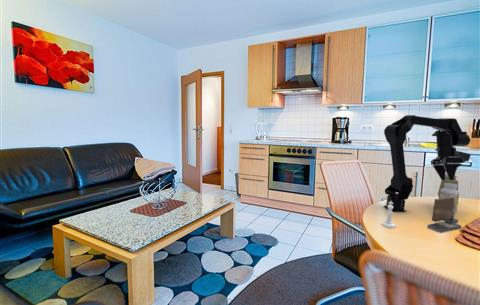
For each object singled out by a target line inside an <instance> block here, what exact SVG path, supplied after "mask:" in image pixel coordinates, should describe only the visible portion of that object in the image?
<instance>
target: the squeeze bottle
mask: <svg viewBox="0 0 480 305" xmlns="http://www.w3.org/2000/svg"><path fill="white" fill-rule="evenodd" d="M440 180H441V179H440ZM444 183H453V184H457V185H458V186H457V188H456V190H458V191H459V181H458V180H457V175H456V174H455V176H454V180H450V179H449V177H448V175H447V173H445V180H441V181H440V185H439V188H438V192H437V196H438V199H440V192H441V189H442V188H444V187H445V186H444Z"/></svg>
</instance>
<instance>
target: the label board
mask: <svg viewBox="0 0 480 305" xmlns="http://www.w3.org/2000/svg"><path fill="white" fill-rule="evenodd" d="M458 223H459V219H457V218H454V219H448V220H442V221H438V222H434V223H429V224H427V229H429V230H432V231H435V232H438V233H440V234H441V233H445V232H449V231H451V232H452V231H455V230H459V229H461V228H462V225H461V224H458Z"/></svg>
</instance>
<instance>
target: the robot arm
mask: <svg viewBox="0 0 480 305" xmlns="http://www.w3.org/2000/svg"><path fill="white" fill-rule="evenodd" d="M415 125H416V126H421V127H429V128H432V129H435V132H434V133H432V134H431V136H432V137H435V139H436V148H435V152H436V153H437V157H435V158H433V159H431V160H430V165H431V166H432V167H433V169H434V170H435V172H436V174H437V175H438V177H439V178H440V180H445V174H447V175H448V177H449V179H450V180H454V176H455V175H456V174H457V173H456V172H457V170H458V168H459V167H461V166H462V165H463V164H464V163H466V162H469V161H470V158H471V156H472V154H471V153H468V152H467V153H466V152H463V151H460V150H459V151H458V150H457V148H456V147H467V146H469V145H470V143H471V137H470V136H469V135H468V132H467V131H462V128H461V126H460V124H459V122H458V120H457V118H452V117H451V118H450V117H449V118H448V117H444V118H443V117H442V118H441V117H440V118H434V117H426V116H418V115H415V114H413V115H412V114H410V115H409V114H407V115H404V116H403V117H401V118H400V119H399V120H396V121H394V122H393V123H391V124H388V125H387V126H386V127H384V130H383V134H384V136H385V140H386V141H387V143H388V145H389V147H390V156H391V166H392V173H393V175H392V177H391V179H390V184H389V185H388V186H387V187H386V188H385V189H384V193H385V195H387V197H386V205H383V207H384V208H385V209H387V210H388V205H390V204H388V203H390V201H392V203H393V204H392V206H393V209H392V212H393V213H394V212H399V213H400V212H401V213H402V212H404V213H405V212H407V211H406V210H405V207H406V206H405V205H406V200H408V199H409V197H410V195H411V193H412V192H413V188H414V187H415V186H414V185H413V181H414V180H413V178H411V177H409V176H408V175H407V171H406V170H407V168H406V160H405V151H404V143H405V141H406V139H407V134H408V133H409V132H410V131H411V130H413V129H412V128H413V126H415Z"/></svg>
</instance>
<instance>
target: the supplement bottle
mask: <svg viewBox="0 0 480 305" xmlns="http://www.w3.org/2000/svg"><path fill="white" fill-rule="evenodd" d="M444 186H445V187H444V188H442V189H441V192H440V198H447V197H451V196H455V197H457V201H456V208H455V213H457V212H458V204H459V198H460V191H459V189H458V190H456V188H457V186H458V187H459V184H458V185H457V184H453V183H444Z"/></svg>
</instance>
